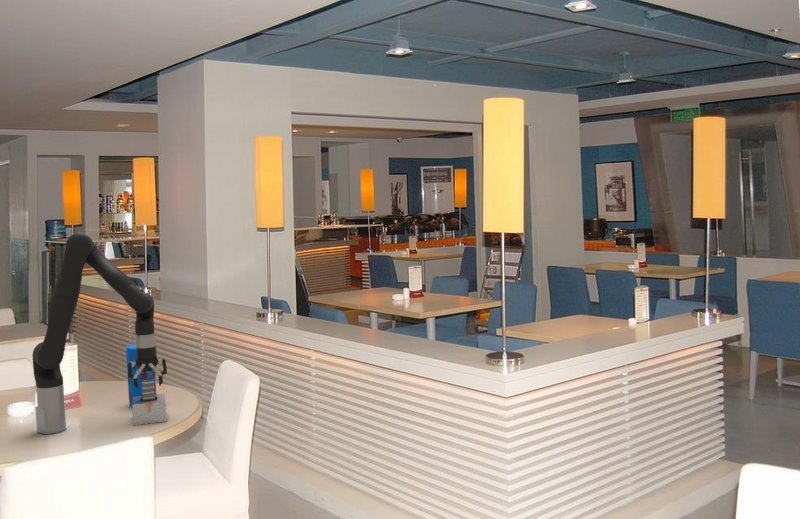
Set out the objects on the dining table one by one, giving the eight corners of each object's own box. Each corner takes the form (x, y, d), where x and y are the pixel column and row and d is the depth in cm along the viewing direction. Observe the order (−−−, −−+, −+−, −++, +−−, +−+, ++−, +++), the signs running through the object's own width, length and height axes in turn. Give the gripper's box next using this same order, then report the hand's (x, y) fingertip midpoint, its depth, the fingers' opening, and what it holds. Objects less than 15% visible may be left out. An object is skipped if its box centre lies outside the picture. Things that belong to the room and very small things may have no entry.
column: (156, 420, 303) (153, 379, 302) (143, 421, 302) (141, 380, 301) (156, 416, 308) (153, 376, 306) (144, 418, 306) (141, 377, 305)
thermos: (161, 402, 329) (157, 343, 327) (150, 409, 319) (147, 348, 316) (136, 401, 330) (132, 343, 328) (124, 409, 320) (121, 348, 317)
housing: (166, 422, 300) (165, 401, 300) (133, 425, 297) (132, 405, 296) (165, 413, 312) (164, 393, 312) (134, 416, 309) (132, 396, 308)
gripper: (164, 341, 308) (167, 382, 310) (126, 345, 304) (129, 386, 305) (165, 345, 301) (167, 386, 303) (126, 349, 297) (128, 391, 298)
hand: (148, 386), depth 304 cm, fingers open, 8 cm apart
